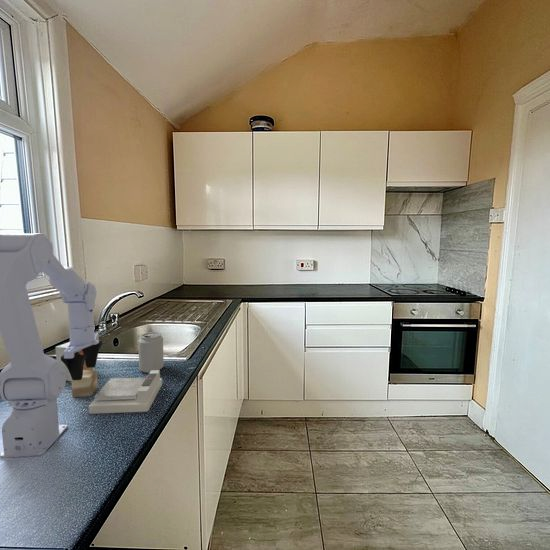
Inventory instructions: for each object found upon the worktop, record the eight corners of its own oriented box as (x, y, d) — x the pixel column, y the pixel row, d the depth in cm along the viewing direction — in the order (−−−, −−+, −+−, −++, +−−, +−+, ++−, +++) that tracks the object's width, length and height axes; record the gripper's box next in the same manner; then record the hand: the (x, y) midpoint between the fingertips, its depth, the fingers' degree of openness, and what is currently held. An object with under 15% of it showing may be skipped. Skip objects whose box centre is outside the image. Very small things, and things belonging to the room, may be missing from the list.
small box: (72, 382, 91) (70, 348, 89) (56, 380, 92) (54, 346, 90) (93, 370, 98) (91, 339, 97) (78, 369, 99) (77, 338, 98)
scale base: (147, 411, 76) (147, 391, 76) (88, 413, 75) (87, 393, 74) (162, 384, 90) (161, 367, 90) (112, 386, 89) (111, 368, 88)
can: (136, 368, 101) (135, 333, 99) (159, 362, 106) (158, 329, 104) (143, 376, 95) (142, 339, 94) (167, 370, 100) (166, 335, 99)
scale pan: (135, 399, 78) (135, 395, 78) (94, 400, 77) (94, 396, 76) (147, 380, 88) (147, 377, 88) (111, 381, 86) (110, 378, 86)
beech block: (90, 396, 83) (88, 377, 82) (72, 396, 83) (71, 377, 82) (97, 388, 88) (96, 370, 87) (81, 388, 87) (79, 370, 86)
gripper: (83, 334, 76) (86, 385, 78) (108, 318, 90) (110, 361, 92) (53, 334, 75) (57, 386, 77) (83, 318, 89) (85, 362, 91)
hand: (84, 373), depth 84 cm, fingers open, 7 cm apart
